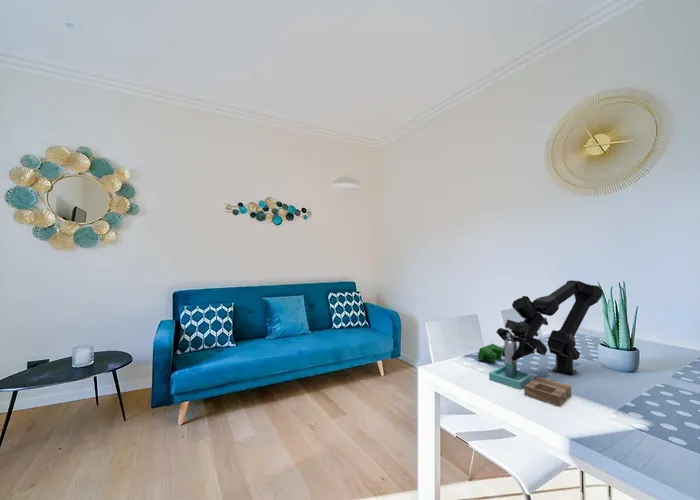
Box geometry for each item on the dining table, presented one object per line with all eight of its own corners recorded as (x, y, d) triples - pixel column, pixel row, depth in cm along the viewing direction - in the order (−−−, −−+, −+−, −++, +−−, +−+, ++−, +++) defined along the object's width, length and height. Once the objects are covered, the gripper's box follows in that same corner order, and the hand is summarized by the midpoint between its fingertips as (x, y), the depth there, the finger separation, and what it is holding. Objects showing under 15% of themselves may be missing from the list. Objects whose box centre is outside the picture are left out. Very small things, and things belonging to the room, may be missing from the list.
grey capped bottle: (511, 372, 115) (511, 336, 115) (519, 376, 111) (518, 339, 111) (502, 373, 114) (502, 336, 114) (510, 377, 110) (509, 339, 110)
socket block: (538, 384, 108) (538, 376, 108) (571, 394, 100) (571, 385, 100) (524, 394, 101) (524, 385, 101) (559, 406, 93) (559, 396, 93)
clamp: (490, 373, 130) (490, 357, 126) (477, 365, 134) (477, 350, 131) (505, 357, 136) (505, 342, 132) (492, 351, 140) (492, 336, 136)
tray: (502, 371, 120) (502, 365, 120) (532, 380, 111) (532, 374, 111) (489, 379, 113) (489, 372, 113) (520, 389, 105) (520, 382, 105)
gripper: (499, 308, 123) (477, 337, 119) (540, 317, 105) (515, 352, 101) (515, 325, 125) (494, 355, 122) (557, 337, 107) (534, 372, 104)
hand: (507, 358), depth 112 cm, fingers closed on grey capped bottle, 4 cm apart
